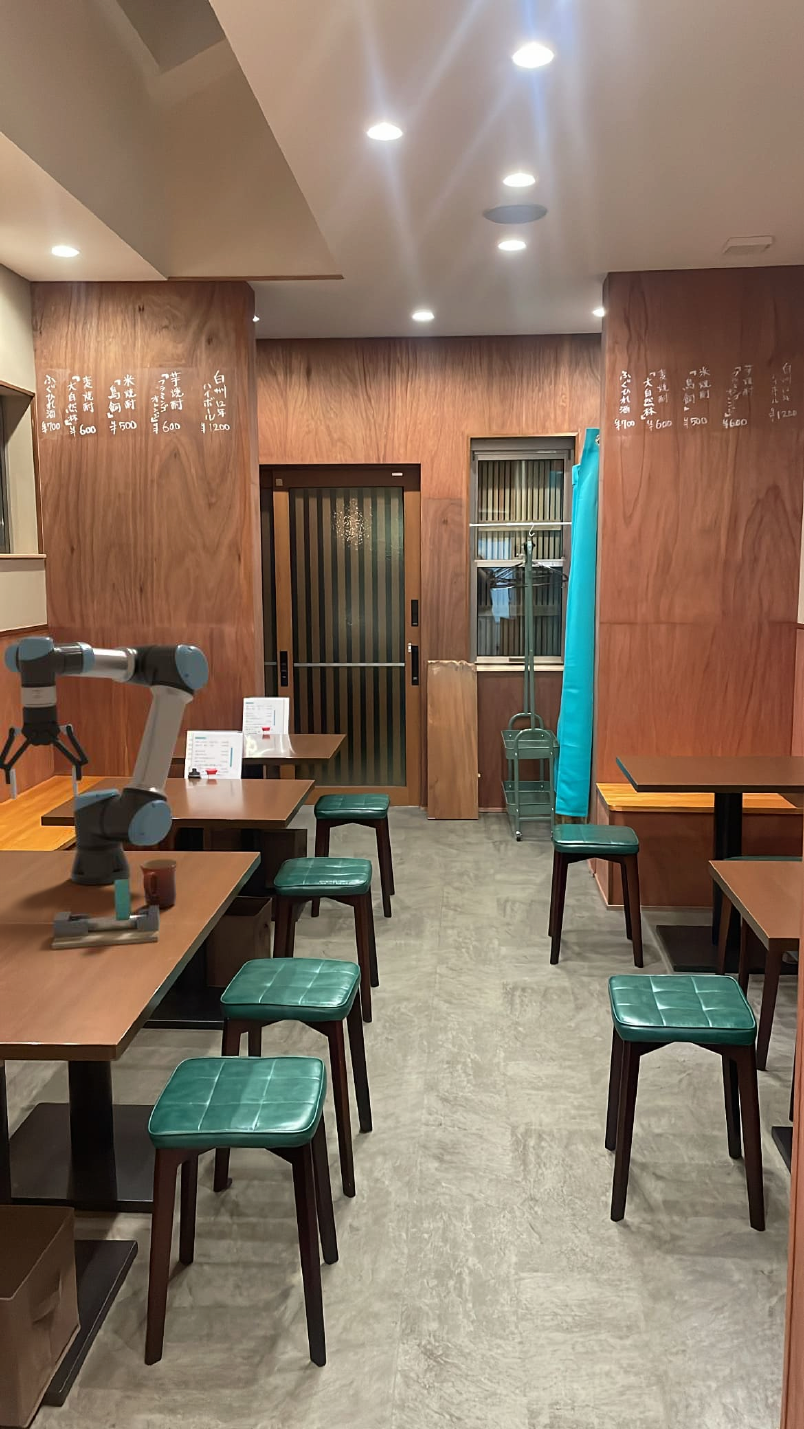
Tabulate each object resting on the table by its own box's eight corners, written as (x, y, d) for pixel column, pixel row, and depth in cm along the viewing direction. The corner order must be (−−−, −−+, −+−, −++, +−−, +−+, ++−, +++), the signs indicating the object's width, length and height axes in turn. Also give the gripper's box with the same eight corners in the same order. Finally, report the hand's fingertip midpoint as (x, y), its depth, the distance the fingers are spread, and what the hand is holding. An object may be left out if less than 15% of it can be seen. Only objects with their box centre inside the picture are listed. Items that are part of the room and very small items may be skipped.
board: (60, 928, 242) (60, 923, 242) (160, 921, 246) (160, 916, 246) (52, 949, 228) (52, 944, 228) (157, 941, 232) (157, 936, 232)
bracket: (58, 929, 238) (57, 912, 237) (90, 927, 239) (89, 910, 238) (54, 938, 232) (53, 920, 232) (88, 935, 233) (87, 918, 233)
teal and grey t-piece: (80, 929, 237) (77, 882, 236) (149, 924, 240) (147, 877, 238) (79, 934, 234) (76, 886, 233) (149, 928, 237) (146, 881, 236)
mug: (151, 898, 263) (149, 858, 262) (185, 900, 261) (183, 859, 260) (129, 914, 251) (127, 871, 250) (164, 915, 250) (162, 873, 248)
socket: (139, 923, 241) (138, 906, 240) (159, 922, 242) (158, 904, 241) (137, 932, 235) (136, 914, 234) (158, 930, 236) (157, 913, 235)
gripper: (-22, 709, 238) (-15, 802, 241) (94, 704, 242) (99, 796, 245) (-15, 705, 245) (-9, 796, 248) (97, 701, 250) (102, 790, 252)
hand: (45, 796), depth 246 cm, fingers open, 13 cm apart
